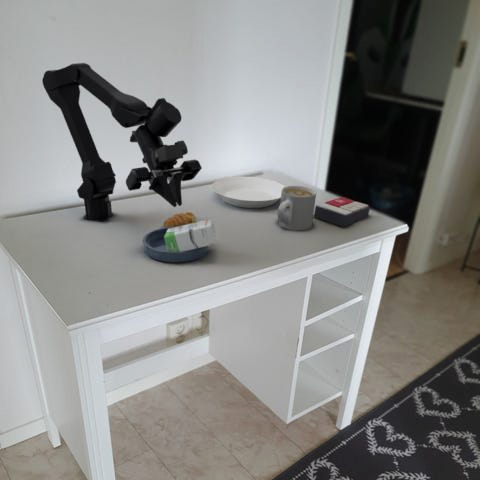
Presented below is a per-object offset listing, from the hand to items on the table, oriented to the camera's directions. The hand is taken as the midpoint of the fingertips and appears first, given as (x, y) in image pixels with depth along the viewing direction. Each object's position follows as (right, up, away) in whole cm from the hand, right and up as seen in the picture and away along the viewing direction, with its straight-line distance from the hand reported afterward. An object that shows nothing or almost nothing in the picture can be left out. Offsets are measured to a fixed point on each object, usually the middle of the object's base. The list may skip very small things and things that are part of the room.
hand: (178, 205), depth 119 cm
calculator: (+47, +4, +35) cm, 58 cm away
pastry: (-2, -2, +21) cm, 21 cm away
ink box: (-3, -8, +3) cm, 9 cm away
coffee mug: (+30, 0, +27) cm, 40 cm away
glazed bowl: (-2, -10, +8) cm, 12 cm away
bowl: (+18, +13, +44) cm, 50 cm away
